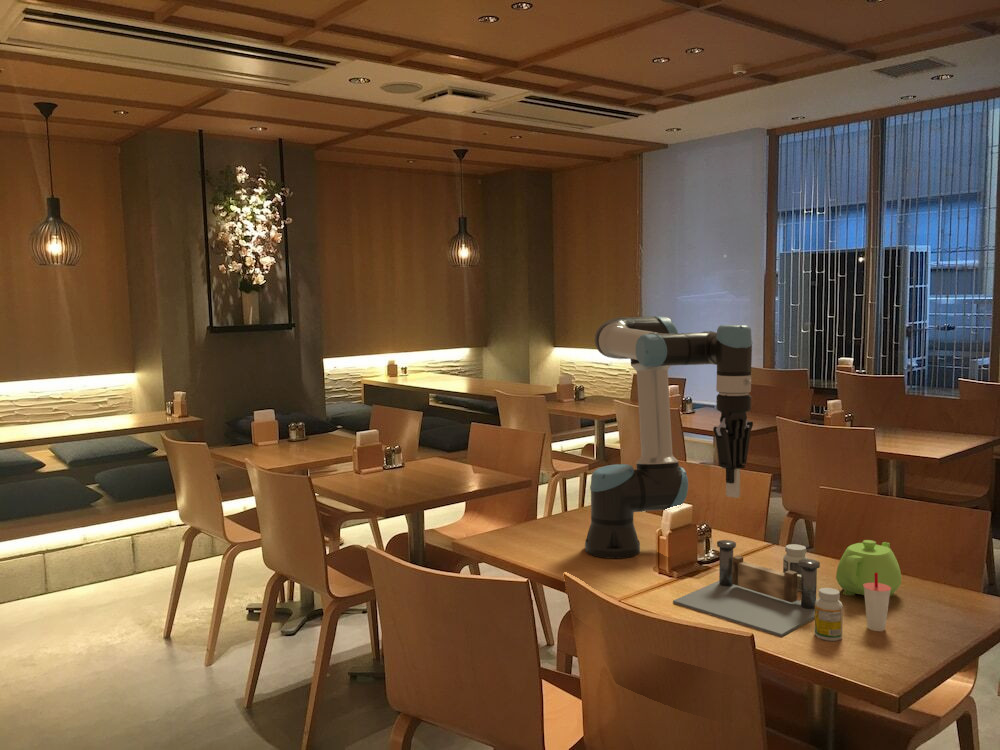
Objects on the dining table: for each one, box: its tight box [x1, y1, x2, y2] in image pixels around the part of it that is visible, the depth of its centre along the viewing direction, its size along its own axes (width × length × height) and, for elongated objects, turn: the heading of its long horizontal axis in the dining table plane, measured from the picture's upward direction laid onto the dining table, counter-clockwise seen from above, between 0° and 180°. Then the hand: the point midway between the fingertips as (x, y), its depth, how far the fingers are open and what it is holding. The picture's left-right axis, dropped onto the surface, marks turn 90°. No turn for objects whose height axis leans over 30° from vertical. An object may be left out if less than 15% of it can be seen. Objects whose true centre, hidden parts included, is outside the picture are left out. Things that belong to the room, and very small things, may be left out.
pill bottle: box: [782, 543, 809, 592], centre depth 200 cm, size 6×6×10 cm
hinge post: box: [716, 539, 737, 586], centre depth 202 cm, size 4×4×11 cm
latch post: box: [797, 558, 821, 609], centre depth 187 cm, size 6×5×11 cm
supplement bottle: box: [814, 587, 844, 642], centre depth 172 cm, size 5×5×10 cm
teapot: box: [835, 539, 902, 597], centre depth 195 cm, size 20×13×13 cm
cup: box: [863, 573, 891, 632], centre depth 175 cm, size 5×5×12 cm
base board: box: [672, 580, 815, 638], centre depth 189 cm, size 27×20×1 cm
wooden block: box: [732, 555, 798, 602], centre depth 193 cm, size 16×2×6 cm, turn 38°
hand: (732, 496), depth 191 cm, fingers closed
